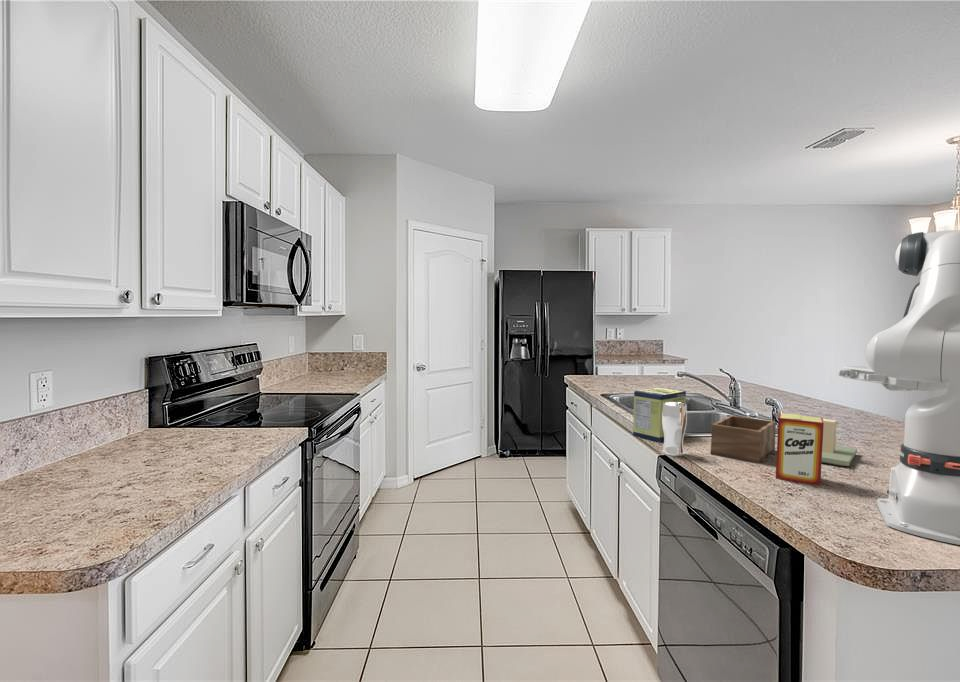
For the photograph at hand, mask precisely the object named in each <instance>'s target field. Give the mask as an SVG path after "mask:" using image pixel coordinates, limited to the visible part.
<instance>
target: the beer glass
mask: <svg viewBox="0 0 960 682" xmlns="http://www.w3.org/2000/svg"><path fill="white" fill-rule="evenodd" d="M687 408H688V407H687V404H686V403H680V402H664V403H663V409H662V427H663V433H664V441H663V447H662V454H663V455H667V456H670V457H671V456H672V457H683V456H684V455H685V451H684V450H685V449H684V437H685V433H686V428H687V422H688V410H687Z"/></svg>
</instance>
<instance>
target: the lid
mask: <svg viewBox="0 0 960 682" xmlns="http://www.w3.org/2000/svg"><path fill="white" fill-rule="evenodd" d="M823 422H824V425H823V444H822V463H823V464H826V463H828V464H829V465H832V464H833V465H832V466H838V465H839V466H838V467H843V466H846V467H849V466H850V465H851V463H852V462H853V460H854V458H855V457H856V454H857V453H858V448H855V447H850V446H842V445H836V443H837V441H836V440H837V422H838V421H837V420H836V419H830V418H823ZM822 463H821V464H822Z"/></svg>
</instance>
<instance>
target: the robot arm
mask: <svg viewBox="0 0 960 682" xmlns="http://www.w3.org/2000/svg"><path fill="white" fill-rule="evenodd" d="M894 255H895V256H894V258H895V259H894V260H895V263H896V265H897V267H898V268H897V269H898V270H899V271H900V272H901V273H902V274H904V275H908V276H913V277H918V276H920V278H919V282H917V283H916V284H915V285H914V287H913V288H912V290H911V292H910V294H909V298H908V301H907V304H906V308H905V310H904V313H903V317H902V319H900V321H897V323H895V324H894V325H892V326H890V327H888V328H885V329H884V330H880V331H879V332H877V333H876V334H875V335H874V336H872V338H870V340H869V342H868V343H867V345H866V349H865V360H866V362H867V365H868V366H857V365H851V366H850V365H845V366H843V367H842V369H839V370H838V371H837V375H838V377H842V378H844V379H850V380H856V381H863V382H870V383H875V384H881V385H882V386H883V387H884V388H885V389H887V390H888V391H891V392H892V391H893V392H897V391H898V392H902V391H903V392H905V391H906V392H912V391H918V392H937V391H944V390H946V392H945V393H943V394H942V395H939V396H935V397H932V398H927V399H924V400H921V401H917V402H915V403H913V404H911V406H909V407H908V409H907V410H906V412H905V415H904V416H905V418H904V433H903V434H904V435H903V443H902V444H900V449H899V461H900V462H899V463H898V464H897V465H895V466H893V467H891V468H890V477H889V487H888V489H887V491H886V493H887V495H888V498H885V497H884V498H877V500H876V505H877V507H878V509H879V511H880V514H881V516H882V518H883V521H884V523H885V524H886V526H888V527H890V528H893V529H895V530H898V531H901V532H903V533H908V534H911V535H915V536H918V537H922V538H926V539H929V540H930V539H931V540H935V541H938V542H944V543H948V544H953V545H958V546H959V545H960V330H957V329H956V330H951V329H952V328H955V327H958V326H960V230H959V229H955V230H954V229H953V230H952V229H951V230H940V231H931V232H925V233H924V232H923V231H920V232H916V233H915V232H914V233H910V234H907V235H906V236H905V237H903V238H902V239H901V242H900V243H899V244H898V246H897V248H896V250H895V253H894Z"/></svg>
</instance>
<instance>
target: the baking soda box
mask: <svg viewBox="0 0 960 682" xmlns="http://www.w3.org/2000/svg"><path fill="white" fill-rule="evenodd" d="M777 419H778V420H777V422H778V423H777V439H776V440H777V442H776V444H777V445H776V461H775V464H776V466H775V479H777V480H784V481H791V482H796V483H802V484H803V483H804V484H808V485H809V484H810V485H814V486H815V485H816V486H821V482H822V481H821V480H822V477H821V476H822V444H823V425H824V422H823V419H824V417H817V416H808V415H801V414H797V413H796V414H795V413H792V414H791V413H779V414H778V418H777Z"/></svg>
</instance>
